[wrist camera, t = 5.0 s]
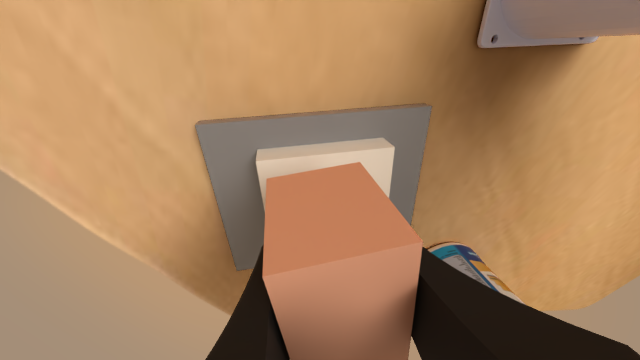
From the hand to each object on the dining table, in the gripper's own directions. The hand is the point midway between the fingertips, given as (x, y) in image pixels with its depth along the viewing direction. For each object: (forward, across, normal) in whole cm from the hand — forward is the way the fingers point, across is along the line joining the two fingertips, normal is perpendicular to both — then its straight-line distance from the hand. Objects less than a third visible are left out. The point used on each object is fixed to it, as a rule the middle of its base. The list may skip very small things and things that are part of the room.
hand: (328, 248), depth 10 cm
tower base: (+9, -1, +3) cm, 10 cm away
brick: (+2, 0, 0) cm, 2 cm away
